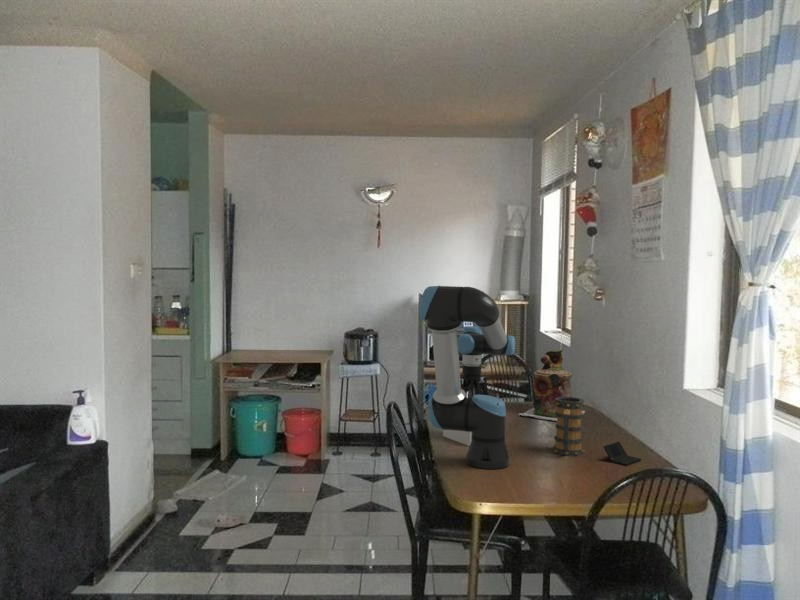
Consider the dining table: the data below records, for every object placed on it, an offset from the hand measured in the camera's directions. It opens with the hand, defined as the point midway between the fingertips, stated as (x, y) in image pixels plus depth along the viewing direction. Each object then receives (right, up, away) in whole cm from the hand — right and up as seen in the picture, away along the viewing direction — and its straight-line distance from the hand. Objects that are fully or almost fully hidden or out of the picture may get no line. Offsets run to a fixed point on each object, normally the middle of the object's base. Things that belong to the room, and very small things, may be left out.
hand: (470, 419), depth 265 cm
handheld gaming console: (+52, -10, -26) cm, 59 cm away
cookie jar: (+44, -7, +48) cm, 65 cm away
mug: (+34, -9, -18) cm, 40 cm away
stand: (0, -8, 0) cm, 8 cm away
